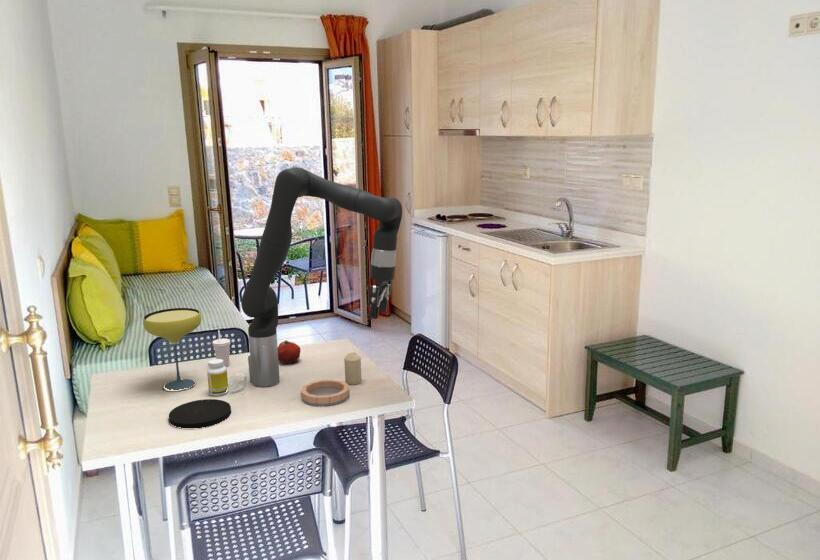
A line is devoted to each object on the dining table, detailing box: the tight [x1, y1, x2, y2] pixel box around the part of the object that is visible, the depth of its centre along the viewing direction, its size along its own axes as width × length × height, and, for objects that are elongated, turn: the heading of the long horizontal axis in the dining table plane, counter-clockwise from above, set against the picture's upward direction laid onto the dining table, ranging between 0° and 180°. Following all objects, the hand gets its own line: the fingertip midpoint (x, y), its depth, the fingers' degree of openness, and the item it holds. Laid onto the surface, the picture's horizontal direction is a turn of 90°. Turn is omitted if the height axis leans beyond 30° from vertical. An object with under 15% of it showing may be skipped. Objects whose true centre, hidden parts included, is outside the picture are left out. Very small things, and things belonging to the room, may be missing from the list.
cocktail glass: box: [142, 307, 202, 390], centre depth 215 cm, size 18×18×25 cm
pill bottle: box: [206, 358, 229, 397], centre depth 209 cm, size 6×6×11 cm
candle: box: [343, 352, 362, 386], centre depth 217 cm, size 6×6×10 cm
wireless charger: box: [168, 398, 232, 429], centre depth 193 cm, size 18×18×2 cm
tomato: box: [277, 340, 301, 364], centre depth 238 cm, size 9×9×8 cm
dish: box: [300, 378, 350, 408], centre depth 205 cm, size 15×15×3 cm
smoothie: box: [212, 329, 232, 368], centre depth 234 cm, size 6×6×14 cm
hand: (378, 315), depth 197 cm, fingers open, 8 cm apart
